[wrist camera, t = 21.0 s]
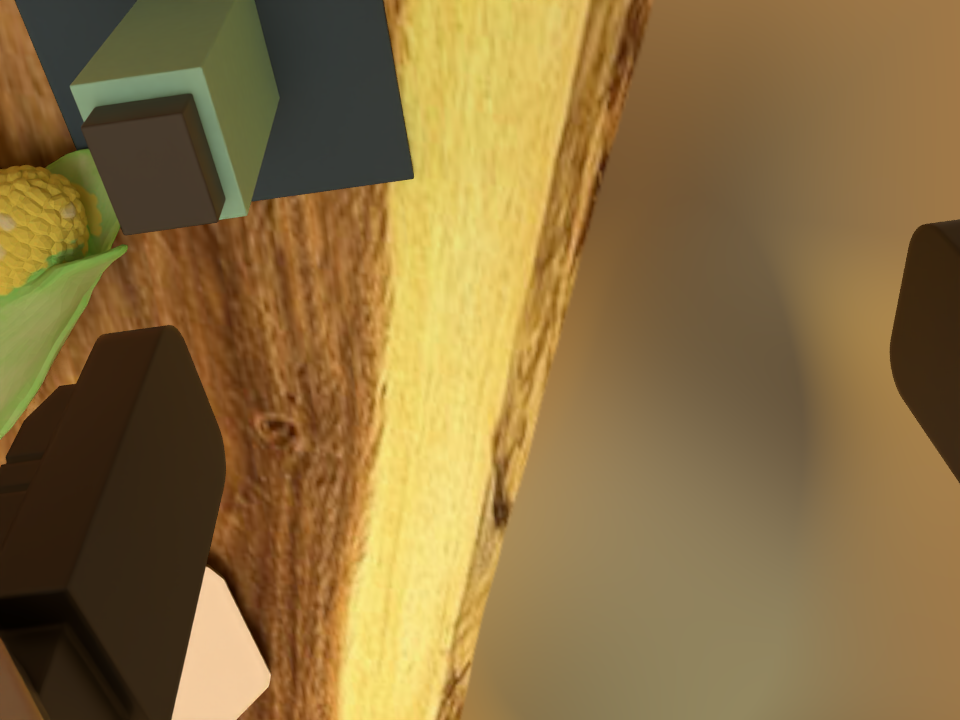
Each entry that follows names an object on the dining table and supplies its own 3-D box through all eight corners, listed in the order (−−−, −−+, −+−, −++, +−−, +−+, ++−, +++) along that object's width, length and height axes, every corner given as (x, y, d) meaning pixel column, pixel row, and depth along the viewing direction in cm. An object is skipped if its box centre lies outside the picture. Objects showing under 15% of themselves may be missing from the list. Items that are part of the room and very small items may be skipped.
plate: (-57, 781, 68) (-65, 801, 67) (-302, 534, 51) (-319, 555, 50) (306, 727, 67) (305, 746, 66) (177, 458, 50) (172, 478, 49)
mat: (351, -181, 33) (350, -179, 32) (413, 175, 41) (414, 179, 41) (-33, -125, 33) (-37, -123, 32) (108, 218, 41) (106, 222, 41)
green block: (186, 111, 38) (145, -12, 35) (280, 98, 38) (248, -27, 35) (115, 258, 29) (51, 106, 26) (241, 240, 29) (191, 86, 26)
